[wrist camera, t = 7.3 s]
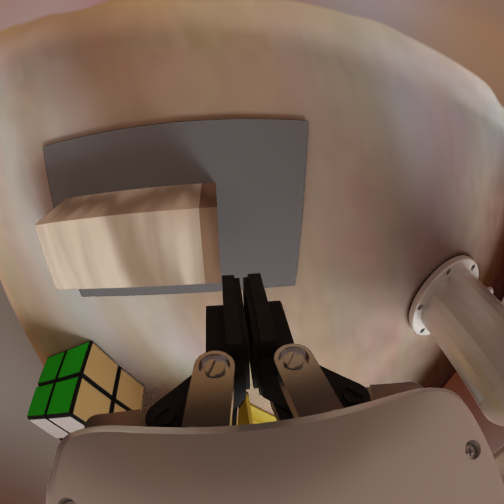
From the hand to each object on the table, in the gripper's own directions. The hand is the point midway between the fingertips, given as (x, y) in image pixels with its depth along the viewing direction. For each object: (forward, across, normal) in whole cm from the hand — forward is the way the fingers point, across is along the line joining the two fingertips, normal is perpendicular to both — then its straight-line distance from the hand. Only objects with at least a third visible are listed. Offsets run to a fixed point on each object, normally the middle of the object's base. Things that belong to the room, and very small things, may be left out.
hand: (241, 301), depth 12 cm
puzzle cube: (+10, +19, +20) cm, 29 cm away
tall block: (+7, +1, 0) cm, 7 cm away
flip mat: (+10, +4, 0) cm, 11 cm away
